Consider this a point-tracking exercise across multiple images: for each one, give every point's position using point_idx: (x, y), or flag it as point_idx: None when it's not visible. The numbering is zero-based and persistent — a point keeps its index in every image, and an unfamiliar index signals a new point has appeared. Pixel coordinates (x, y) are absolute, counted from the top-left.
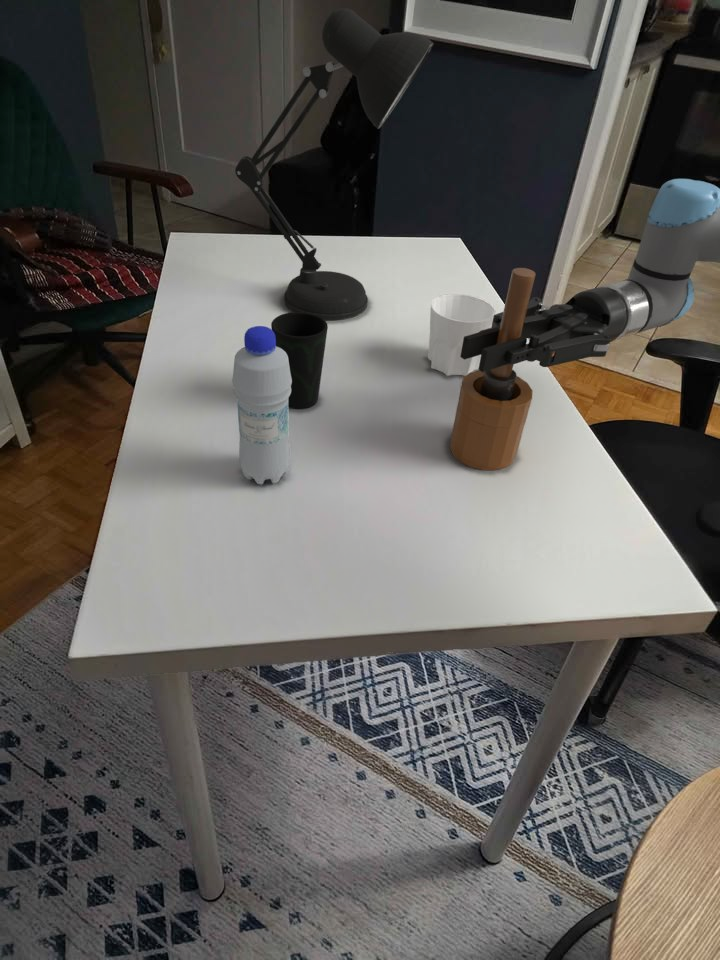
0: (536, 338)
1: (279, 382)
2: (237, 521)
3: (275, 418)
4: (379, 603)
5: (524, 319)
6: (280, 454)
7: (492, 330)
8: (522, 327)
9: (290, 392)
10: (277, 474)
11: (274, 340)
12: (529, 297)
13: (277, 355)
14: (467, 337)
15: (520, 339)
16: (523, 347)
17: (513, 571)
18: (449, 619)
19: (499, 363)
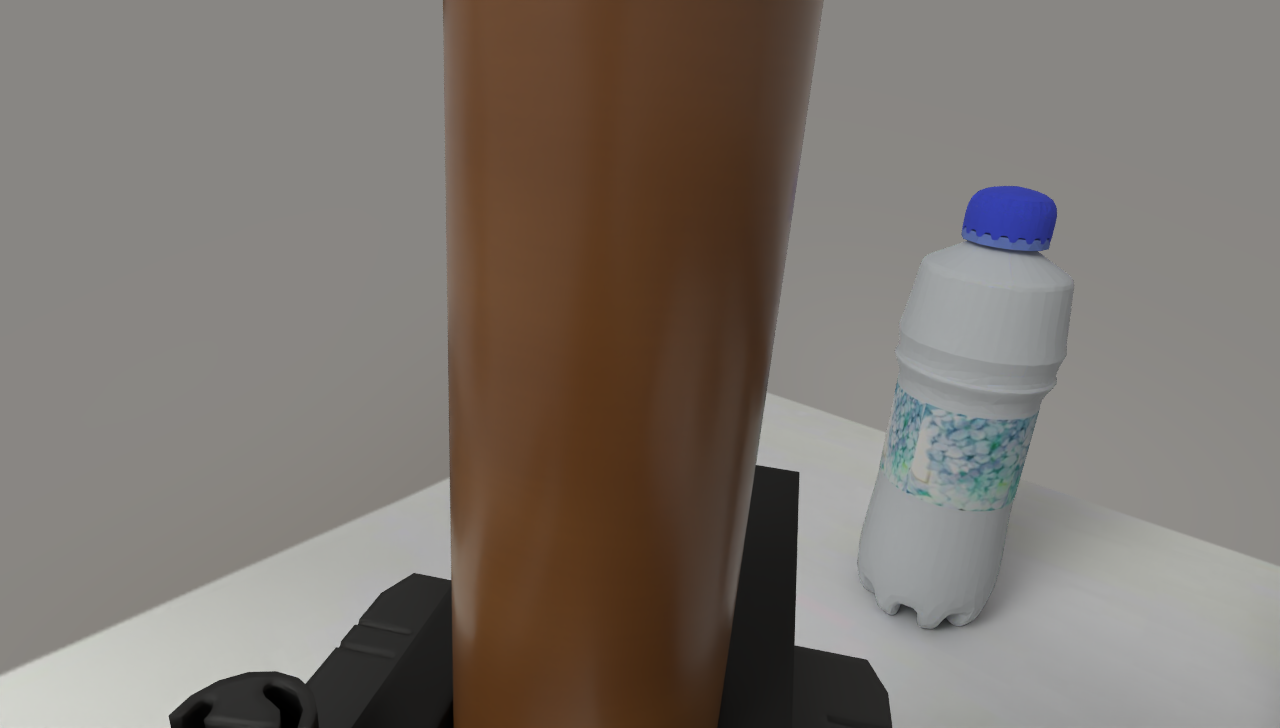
0: (219, 692)
1: (913, 303)
2: None
3: (894, 401)
4: (444, 517)
5: (454, 537)
6: (873, 511)
7: (761, 646)
8: (454, 630)
9: (931, 375)
10: (858, 553)
11: (983, 212)
12: (446, 184)
13: (968, 257)
14: (774, 473)
15: (423, 674)
16: (361, 712)
17: (158, 720)
18: (297, 551)
19: None
